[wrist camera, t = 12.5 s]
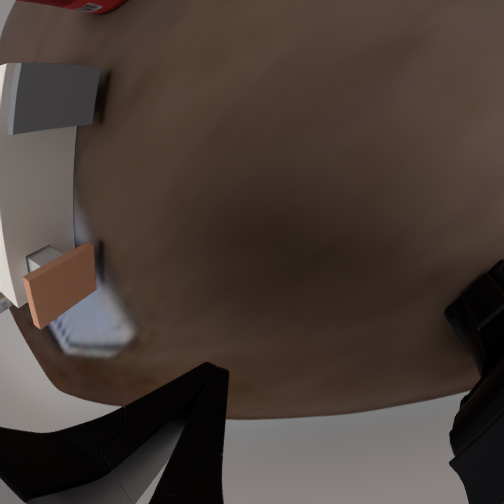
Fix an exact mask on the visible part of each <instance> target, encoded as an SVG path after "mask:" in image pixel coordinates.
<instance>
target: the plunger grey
mask: <svg viewBox="0 0 504 504" xmlns="http://www.w3.org/2000/svg"><path fill="white" fill-rule="evenodd" d="M100 72H101V68H98V67H90V66H80V65H69V64H55V63H25V62H22V63H19V64H16V66H15V71H14V77H13V83H12V90H11V98H10V106H9V117H8V130H7V134H8V135H15V134H21V133H27V132H34V131H40V130H48V129H56V128H64V127H74V126H85V125H92V123H93V115H94V108H95V101H96V94H97V88H98V83H99V77H100Z"/></svg>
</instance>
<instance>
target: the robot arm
mask: <svg viewBox="0 0 504 504" xmlns="http://www.w3.org/2000/svg"><path fill="white" fill-rule="evenodd" d="M503 266H504V260H501V261H500V262H499V263H498V264H497V265H496V266H495V267H494V268H493V269H492V270H491V271H490V272H488V273H487V274H486V275H485V276H484V277H482V278H481V279H480V280H479V281H478V282H477V283H476V284H475V285H474V286H472V287H471V288H470V289H469V290H468V291H467V292H466V293H464V294H463V296H461V297H460V298H459V299H458V300H457V301H455V302H454V303H453V304H452V305H450V306H449V307H448V308H447V309H446V310H445V316H446V319H447V320H448V321H449V323H450V324H451V326H452V327H453V328H454V330H455V331H456V333H457V334H458V335H459V337H460V338H461V340H462V341H463V342H464V344H465V345H466V347H467V348H468V350H469V351H470V353H471V354H472V356H473V358H474V361H475V363H476V366H477V369H478V372H479V374H480V377H481V379H480V380H479V382H478V383H477V384H476V385H475V387H474V388H473V389H472V390H471V391H470V393H469V394H468V395H466V396H464V398H463V399H462V400H461V402H460V409H459V412H458V413H457V414H456V416H455V419H454V423H453V429H452V430H451V431H450V433H449V435H450V444H451V448H452V451H453V454H454V456H455V457H454V458H453V459H452V460H451V461H450V462H449V464H450V466H451V467H452V468H453V469H454V470H455V472H457V474H458V475H459V477H460V479H461V480H462V482H463V484H464V487H465V490H466V493H467V497H468V501H469V504H504V269H502V267H503ZM451 312H453V313H452V314H451V315H449V313H451ZM228 384H229V370H226V369H224V368H221V367H218V368H217V366H216V365H214V364H212V363H209V362H204V363H203V364H201V365H199V366H197V367H196V368H194V369H192V370H190V371H189V372H187V373H185V374H183V375H182V376H180V377H178V378H176V379H174V380H173V381H171V382H169V383H167V384H165V385H164V386H162V387H160V388H158V389H156V390H154V391H152V392H151V393H149V394H147V395H145V396H143V397H141V398H139V399H137V400H135V401H133V402H131V403H129V404H127V405H126V406H125V407H121V408H119V409H117V410H115V411H113V412H111V413H109V414H107V415H104V416H102V417H100V418H97V419H94V420H92V421H88V422H85V423H82V424H79V425H76V426H73V427H69V428H66V429H63V430H59V431H55V432H50V433H35V432H28V431H21V430H15V429H9V428H3V427H0V504H135V503H136V502H137V500H138V499H139V498H140V497H141V496H142V494H143V493H144V492H145V490H146V489H147V488H148V486H149V485H150V484H151V482H152V481H153V480H154V478H155V477H156V476H157V474H158V473H159V472H160V470H161V469H162V468H163V466H164V465H165V464H166V462H167V461H168V459H169V458H170V459H169V461H168V464H167V465H166V468H165V470H164V472H163V474H162V477H161V479H160V481H159V483H158V485H157V487H156V489H155V491H154V494H153V496H152V498H151V500H150V502H149V504H224V501H223V491H222V463H223V446H224V434H225V421H226V409H227V397H228Z"/></svg>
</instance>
